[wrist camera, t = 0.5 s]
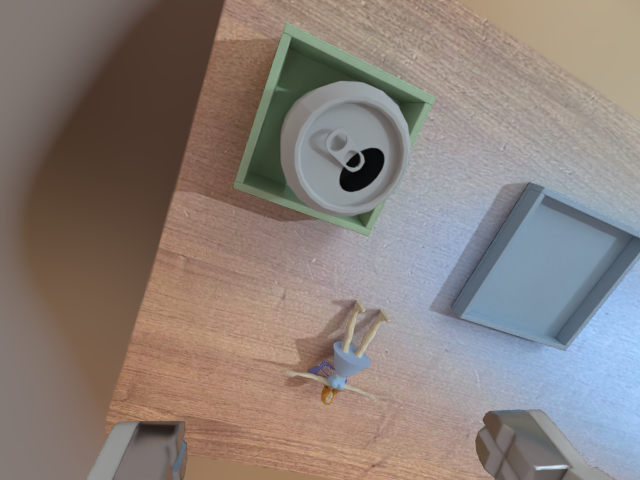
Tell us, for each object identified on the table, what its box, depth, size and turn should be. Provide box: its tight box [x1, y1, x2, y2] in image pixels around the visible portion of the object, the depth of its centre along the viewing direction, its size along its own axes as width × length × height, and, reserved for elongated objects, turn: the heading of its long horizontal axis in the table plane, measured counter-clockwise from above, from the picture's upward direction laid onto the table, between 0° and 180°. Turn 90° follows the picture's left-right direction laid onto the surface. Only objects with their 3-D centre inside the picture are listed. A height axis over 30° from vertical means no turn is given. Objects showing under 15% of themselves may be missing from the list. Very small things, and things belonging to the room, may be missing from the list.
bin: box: [233, 22, 436, 236], centre depth 26 cm, size 11×11×5 cm
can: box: [281, 81, 411, 216], centre depth 23 cm, size 8×8×12 cm
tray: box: [451, 182, 640, 351], centre depth 35 cm, size 15×15×2 cm
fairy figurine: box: [286, 301, 391, 405], centre depth 36 cm, size 12×5×12 cm
